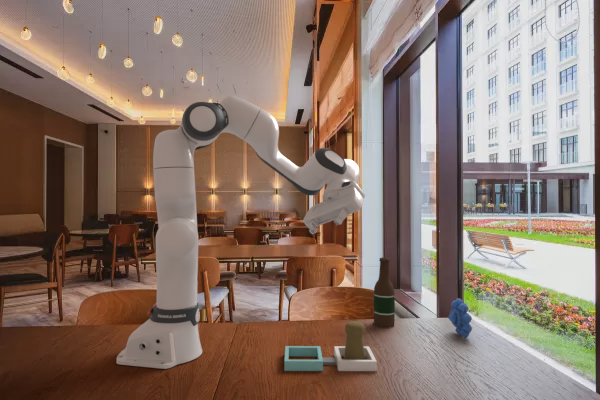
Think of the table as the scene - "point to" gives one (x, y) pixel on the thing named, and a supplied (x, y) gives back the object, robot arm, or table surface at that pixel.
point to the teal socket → (303, 364)
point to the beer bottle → (384, 297)
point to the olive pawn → (354, 341)
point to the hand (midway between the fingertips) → (324, 227)
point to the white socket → (351, 361)
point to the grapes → (460, 318)
